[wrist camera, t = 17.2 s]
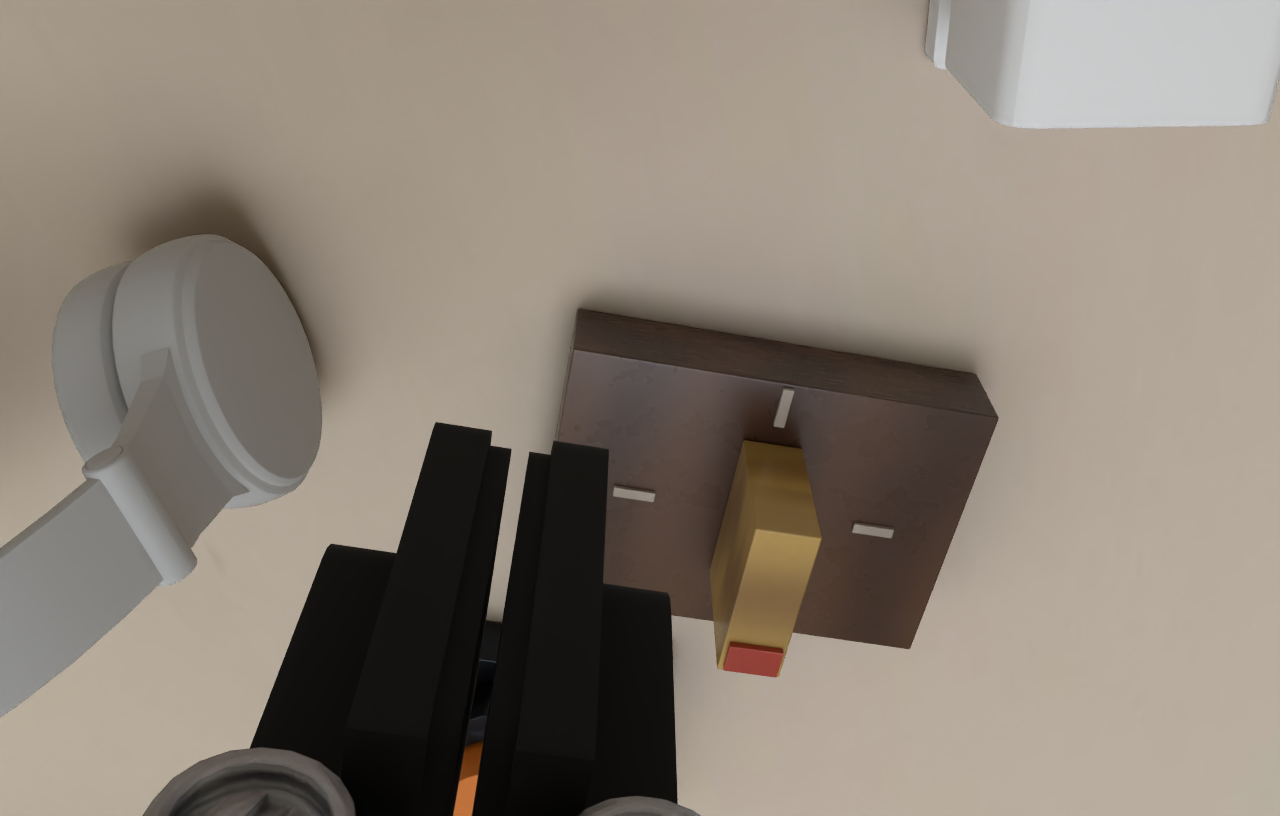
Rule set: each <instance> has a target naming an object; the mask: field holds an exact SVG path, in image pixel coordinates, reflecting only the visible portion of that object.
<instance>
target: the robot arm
mask: <svg viewBox="0 0 1280 816" xmlns="http://www.w3.org/2000/svg"><path fill="white" fill-rule="evenodd" d="M491 436H492V431H489V430H483V429H477V428H470V427H464V426H457V425H451V424H444V423H438V422H436V423H435V425H434V428H433V431H432V435H431V438H430V442H429V445H428V448H427V452H426V455H425V459H424V462H423V465H422V469H421V472H420V476H419V479H418V482H417V486H416V489H415V493H414V496H413V499H412V503H411V506H410V510H409V513H408V516H407V520H406V523H405V527H404V530H403V533H402V537H401V540H400V544H399V547H398V550H397V553H391V552H384V551H377V550H370V549H363V548H357V547H350V546H343V545H336V544H330V545H329V546H328V547H327V549H326V551H325V553H324V556H323V558H322V560H321V563H320V566H319V568H318V571H317V573H316V576H315V579H314V581H313V584H312V587H311V589H310V592H309V594H308V597H307V600H306V602H305V605H304V608H303V610H302V613H301V615H300V618H299V621H298V623H297V626H296V628H295V631H294V634H293V636H292V639H291V642H290V644H289V647H288V649H287V652H286V655H285V657H284V660H283V663H282V665H281V668H280V670H279V673H278V676H277V678H276V681H275V684H274V686H273V689H272V691H271V694H270V697H269V699H268V702H267V705H266V707H265V710H264V712H263V715H262V718H261V720H260V723H259V726H258V728H257V731H256V733H255V736H254V739H253V741H252V744H251V746H250V749H242V750H232V751H228V752H225V753H222V754H219V755H216V756H213V757H210V758H208V759H205V760H202V761H199V762H198V763H196V764H194V765H193V766H191V767H190V768H188V769H187V770H185V771H183V772H182V773H180V774H179V775H177V776H176V777H174V778H173V779H172V780H171V781H170V782H169V783H168V784H167V785H166V786H165V787H164V789H163V790H162V791H161V792H160V793H159V794H158V795H157V796H156V797H155V798H154V799H153V801H152V802H151V804H150V805H149V807H148V808H147V810H146V811H145V813H144V814H143V816H453V814H454V808H455V803H456V797H457V791H458V785H459V779H460V774H461V768H462V762H463V756H464V750H465V745H466V739H467V733H468V727H469V721H470V716H471V710H472V704H473V698H474V692H475V686H476V680H477V674H478V668H479V661H480V655H481V648H482V642H483V635H484V628H485V622H486V615H487V609H488V602H489V595H490V589H491V582H492V576H493V569H494V562H495V556H496V549H497V543H498V536H499V529H500V523H501V516H502V510H503V503H504V496H505V490H506V483H507V476H508V470H509V463H510V457H511V449H508V448H502V447H495V446H490V445H491ZM608 463H609V450H608V449H605V448H599V447H593V446H586V445H580V444H573V443H567V442H560V441H553V446H552V451H551V455H547V454H541V453H534V452H529V458H528V464H527V470H526V476H525V483H524V489H523V495H522V501H521V508H520V514H519V520H518V526H517V532H516V539H515V545H514V551H513V557H512V564H511V570H510V576H509V582H508V589H507V595H506V601H505V607H504V613H503V620H502V626H501V632H500V638H499V645H498V651H497V657H496V663H495V670H494V676H493V682H492V689H491V695H490V701H489V708H488V714H487V721H486V727H485V734H484V740H483V746H482V753H481V759H480V766H479V772H478V779H477V785H476V792H475V798H474V804H473V811H472V816H700V815H699V814H697V813H696V812H694V811H693V810H691V809H688V808H686V807H683V806H680V805H678V804H677V774H676V743H675V713H674V682H673V652H672V621H671V602H670V596H669V594H668V593H667V592H660V591H653V590H646V589H639V588H632V587H625V586H618V585H611V584H605V583H603V574H604V552H605V529H606V507H607V485H608Z"/></svg>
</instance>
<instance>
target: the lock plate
mask: <svg viewBox="0 0 1280 816" xmlns="http://www.w3.org/2000/svg"><path fill="white" fill-rule="evenodd" d="M998 419H999V418H998V416H997V414H996V412H995V410H994V408H993V406H992V404H991V402H990V400H989V398H988V396H987V394H986V392H985V390H984V388H983V386H982V384H981V382H980V380H979V378H978V376H977V375H975V374H969V373H963V372H957V371H951V370H945V369H939V368H933V367H927V366H921V365H915V364H909V363H903V362H897V361H891V360H885V359H879V358H873V357H867V356H861V355H854V354H848V353H842V352H836V351H830V350H824V349H818V348H812V347H806V346H800V345H794V344H788V343H782V342H776V341H770V340H764V339H758V338H752V337H746V336H740V335H734V334H728V333H721V332H715V331H709V330H703V329H697V328H691V327H685V326H679V325H673V324H667V323H661V322H655V321H649V320H643V319H637V318H631V317H625V316H619V315H613V314H607V313H601V312H594V311H588V310H582V309H578V310H577V314H576V320H575V326H574V331H573V337H572V343H571V349H570V355H569V361H568V366H567V372H566V378H565V384H564V390H563V395H562V401H561V407H560V413H559V419H558V424H557V430H556V436H555V441H560V442H567V443H573V444H580V445H586V446H593V447H599V448H605V449H608V450H609V463H608V485H607V507H606V529H605V552H604V574H603V583H605V584H611V585H618V586H625V587H632V588H639V589H646V590H653V591H660V592H667V593H668V594H669V596H670V602H671V615H675V616H682V617H689V618H696V619H703V620H710V621H714V620H713V608H712V595H711V582H710V567H711V563H712V560H713V556H714V552H715V548H716V544H717V540H718V536H719V533H720V529H721V525H722V521H723V517H724V513H725V509H726V505H727V502H728V498H729V494H730V490H731V486H732V482H733V478H734V475H735V471H736V467H737V463H738V459H739V455H740V451H741V447H742V444H743V441H744V440H747V441H754V442H760V443H767V444H773V445H780V446H786V447H793V448H799V449H802V451H803V455H804V460H805V465H806V469H807V474H808V478H809V483H810V487H811V492H812V496H813V501H814V506H815V510H816V515H817V519H818V524H819V528H820V533H821V538H822V540H821V543H820V546H819V549H818V553H817V556H816V559H815V562H814V565H813V569H812V572H811V575H810V578H809V581H808V585H807V588H806V591H805V594H804V597H803V601H802V604H801V607H800V610H799V613H798V617H797V620H796V623H795V626H794V629H793V633H800V634H807V635H814V636H821V637H828V638H835V639H842V640H849V641H856V642H863V643H870V644H877V645H884V646H891V647H898V648H905V649H910V647H911V645H912V642H913V639H914V637H915V634H916V632H917V629H918V626H919V624H920V621H921V619H922V616H923V613H924V611H925V608H926V606H927V603H928V600H929V598H930V595H931V593H932V590H933V587H934V585H935V582H936V580H937V577H938V574H939V572H940V569H941V567H942V564H943V562H944V559H945V556H946V554H947V551H948V549H949V546H950V543H951V541H952V538H953V536H954V533H955V530H956V528H957V525H958V523H959V520H960V517H961V515H962V512H963V510H964V507H965V504H966V502H967V499H968V497H969V494H970V491H971V489H972V486H973V484H974V481H975V478H976V476H977V473H978V471H979V468H980V465H981V463H982V460H983V458H984V455H985V452H986V450H987V447H988V445H989V442H990V440H991V437H992V434H993V432H994V429H995V427H996V424H997V421H998Z"/></svg>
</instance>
